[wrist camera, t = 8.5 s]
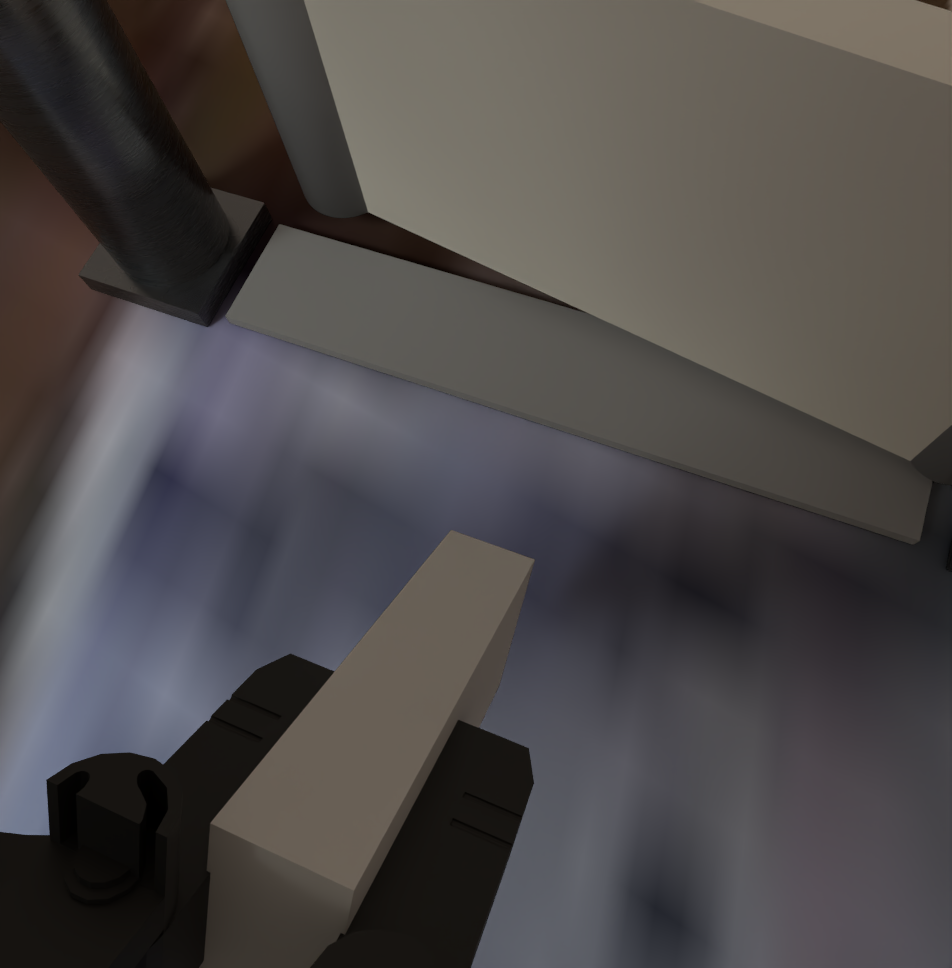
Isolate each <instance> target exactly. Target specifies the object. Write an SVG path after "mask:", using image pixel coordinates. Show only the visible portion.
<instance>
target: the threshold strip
mask: <svg viewBox="0 0 952 968" xmlns="http://www.w3.org/2000/svg"><path fill="white" fill-rule="evenodd" d="M225 317H226V318H227V320H228V321H229V323H232V324H235V325H238V326H241V327H244V328H247V329H250V330H253V331H256V332H259V333H262V334H265V335H268V336H272V337H275V338H278V339H281V340H284V341H287V342H290V343H293V344H296V345H299V346H302V347H305V348H309V349H312V350H315V351H318V352H321V353H324V354H327V355H330V356H333V357H336V358H339V359H342V360H345V361H349V362H352V363H355V364H358V365H361V366H364V367H367V368H370V369H373V370H376V371H379V372H382V373H385V374H389V375H392V376H395V377H398V378H401V379H404V380H407V381H410V382H413V383H416V384H419V385H422V386H426V387H429V388H432V389H435V390H438V391H441V392H444V393H447V394H450V395H453V396H456V397H459V398H462V399H466V400H469V401H472V402H475V403H478V404H481V405H484V406H487V407H490V408H493V409H496V410H499V411H503V412H506V413H509V414H512V415H515V416H518V417H521V418H524V419H527V420H530V421H533V422H536V423H539V424H543V425H546V426H549V427H552V428H555V429H558V430H561V431H564V432H567V433H570V434H573V435H576V436H579V437H583V438H586V439H589V440H592V441H595V442H598V443H601V444H604V445H607V446H610V447H613V448H616V449H620V450H623V451H626V452H629V453H632V454H635V455H638V456H641V457H644V458H647V459H650V460H653V461H656V462H660V463H663V464H666V465H669V466H672V467H675V468H678V469H681V470H684V471H687V472H690V473H693V474H696V475H700V476H703V477H706V478H709V479H712V480H715V481H718V482H721V483H724V484H727V485H730V486H733V487H737V488H740V489H743V490H746V491H749V492H752V493H755V494H758V495H761V496H764V497H767V498H770V499H773V500H777V501H780V502H783V503H786V504H789V505H792V506H795V507H798V508H801V509H804V510H807V511H810V512H813V513H817V514H820V515H823V516H826V517H829V518H832V519H835V520H838V521H841V522H844V523H847V524H850V525H854V526H857V527H860V528H863V529H866V530H869V531H872V532H875V533H878V534H881V535H884V536H887V537H890V538H894V539H897V540H900V541H903V542H906V543H909V544H912V545H914V544H915V543H917V542H919V541H920V538H921V533H922V528H923V524H924V519H925V514H926V510H927V505H928V501H929V496H930V491H931V487H932V482H933V481H932V480H930V479H928V478H926V477H925V476H923V475H922V474H921V473H920V472H918V471H917V469H916V468H915V467H914V466H913V465H912V463H911V462H910V461H909V460H907V459H905V458H902V457H900V456H898V455H896V454H894V453H892V452H889V451H887V450H885V449H883V448H881V447H878V446H876V445H874V444H872V443H870V442H868V441H865V440H863V439H861V438H859V437H857V436H855V435H852V434H850V433H848V432H846V431H844V430H841V429H839V428H837V427H835V426H833V425H831V424H828V423H826V422H824V421H822V420H820V419H817V418H815V417H813V416H811V415H809V414H807V413H804V412H802V411H800V410H798V409H796V408H794V407H791V406H789V405H787V404H785V403H783V402H780V401H778V400H776V399H774V398H772V397H770V396H767V395H765V394H763V393H761V392H759V391H757V390H754V389H752V388H750V387H748V386H746V385H743V384H741V383H739V382H737V381H735V380H733V379H730V378H728V377H726V376H724V375H722V374H720V373H717V372H715V371H713V370H711V369H709V368H706V367H704V366H702V365H700V364H698V363H696V362H693V361H691V360H689V359H687V358H685V357H682V356H680V355H678V354H676V353H674V352H672V351H669V350H667V349H665V348H663V347H661V346H659V345H656V344H654V343H652V342H650V341H648V340H645V339H643V338H641V337H639V336H637V335H635V334H632V333H630V332H628V331H626V330H624V329H622V328H619V327H617V326H615V325H613V324H611V323H608V322H606V321H604V320H602V319H600V318H598V317H595V316H593V315H591V314H588V313H584V312H581V311H578V310H574V309H571V308H567V307H564V306H560V305H557V304H553V303H550V302H546V301H543V300H540V299H536V298H533V297H529V296H526V295H522V294H519V293H515V292H512V291H509V290H505V289H502V288H498V287H495V286H491V285H488V284H484V283H481V282H477V281H474V280H471V279H467V278H464V277H460V276H457V275H453V274H450V273H446V272H443V271H439V270H436V269H433V268H429V267H426V266H422V265H419V264H415V263H412V262H408V261H405V260H402V259H398V258H395V257H391V256H388V255H384V254H381V253H377V252H374V251H370V250H367V249H364V248H360V247H357V246H353V245H350V244H346V243H343V242H339V241H336V240H332V239H329V238H326V237H322V236H319V235H315V234H312V233H308V232H305V231H301V230H298V229H294V228H291V227H288V226H284V225H281V224H279V225H278V227H277V229H276V231H275V232H274V234H273V236H272V237H271V239H270V241H269V243H268V244H267V246H266V248H265V249H264V251H263V253H262V254H261V256H260V258H259V260H258V261H257V263H256V265H255V266H254V268H253V270H252V271H251V273H250V275H249V277H248V278H247V280H246V282H245V283H244V285H243V287H242V288H241V290H240V292H239V294H238V295H237V297H236V299H235V300H234V302H233V304H232V306H231V307H230V309H229V311H228V312H227V314H226V316H225Z"/></svg>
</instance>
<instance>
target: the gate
mask: <svg viewBox="0 0 952 968" xmlns="http://www.w3.org/2000/svg"><path fill="white" fill-rule="evenodd" d="M226 2H227V5H228V7H229V10H230V12H231V15H232V17H233V20H234V22H235V25H236V27H237V30H238V32H239V35H240V37H241V40H242V42H243V45H244V47H245V50H246V52H247V55H248V57H249V59H250V62H251V64H252V67H253V69H254V72H255V74H256V77H257V79H258V82H259V84H260V87H261V89H262V92H263V94H264V97H265V99H266V102H267V104H268V107H269V109H270V112H271V114H272V116H273V119H274V121H275V124H276V126H277V129H278V131H279V134H280V136H281V139H282V141H283V144H284V146H285V149H286V151H287V154H288V156H289V159H290V161H291V164H292V166H293V169H294V171H295V174H296V176H297V178H298V181H299V183H300V186H301V188H302V191H303V193H304V196H305V198H306V200H307V202H308V203H309V204H310V205H311V206H312V208H314V209H315V210H316V211H318V212H320V213H321V214H324V215H326V216H330V217H335V218H350V217H356V216H359V215H362V214H365V213H367V212H369V213H371V214H373V215H375V216H378V217H380V218H382V219H384V220H386V221H389V222H391V223H393V224H395V225H397V226H399V227H402V228H404V229H406V230H408V231H410V232H412V233H415V234H417V235H419V236H421V237H423V238H426V239H428V240H430V241H432V242H434V243H436V244H439V245H441V246H443V247H445V248H447V249H449V250H452V251H454V252H456V253H458V254H460V255H463V256H465V257H467V258H469V259H471V260H473V261H476V262H478V263H480V264H482V265H484V266H487V267H489V268H491V269H493V270H495V271H497V272H500V273H502V274H504V275H506V276H508V277H510V278H513V279H515V280H517V281H519V282H521V283H524V284H526V285H528V286H530V287H532V288H534V289H537V290H539V291H541V292H543V293H545V294H547V295H550V296H552V297H554V298H556V299H558V300H561V301H563V302H565V303H567V304H569V305H571V306H574V307H576V308H578V309H580V310H582V311H585V312H587V313H589V314H591V315H593V316H595V317H598V318H600V319H602V320H604V321H606V322H608V323H611V324H613V325H615V326H617V327H619V328H622V329H624V330H626V331H628V332H630V333H632V334H635V335H637V336H639V337H641V338H643V339H645V340H648V341H650V342H652V343H654V344H656V345H659V346H661V347H663V348H665V349H667V350H669V351H672V352H674V353H676V354H678V355H680V356H682V357H685V358H687V359H689V360H691V361H693V362H696V363H698V364H700V365H702V366H704V367H706V368H709V369H711V370H713V371H715V372H717V373H720V374H722V375H724V376H726V377H728V378H730V379H733V380H735V381H737V382H739V383H741V384H743V385H746V386H748V387H750V388H752V389H754V390H757V391H759V392H761V393H763V394H765V395H767V396H770V397H772V398H774V399H776V400H778V401H780V402H783V403H785V404H787V405H789V406H791V407H794V408H796V409H798V410H800V411H802V412H804V413H807V414H809V415H811V416H813V417H815V418H817V419H820V420H822V421H824V422H826V423H828V424H831V425H833V426H835V427H837V428H839V429H841V430H844V431H846V432H848V433H850V434H852V435H855V436H857V437H859V438H861V439H863V440H865V441H868V442H870V443H872V444H874V445H876V446H878V447H881V448H883V449H885V450H887V451H889V452H892V453H894V454H896V455H898V456H900V457H902V458H905V459H907V460H909V461H910V462H911V463H912V465H913V466H914V467H915V468H916V469H917V471H918V472H920V473H921V474H922V475H923V476H925V477H926V478H928V479H930V480H932V481H934V482H937V483H940V484H945V485H952V11H949V10H946V9H942V8H939V7H936V6H933V5H929V4H926V3H923V2H919V1H916V0H226Z"/></svg>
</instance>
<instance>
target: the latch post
mask: <svg viewBox="0 0 952 968" xmlns="http://www.w3.org/2000/svg"><path fill="white" fill-rule="evenodd" d="M0 121H1V123H2V124H3V125H4V126H5V127H6V129H7V130H8V131H9V132H10V134H11V135H12V136H13V137H14V138H15V140H16V141H17V142H18V143H19V145H20V146H21V147H22V148H23V149H24V151H25V152H26V153H27V154H28V156H29V157H30V158H31V159H32V160H33V162H34V163H35V164H36V165H37V167H38V168H39V169H40V170H41V171H42V173H43V174H44V175H45V176H46V178H47V179H48V180H49V181H50V182H51V184H52V185H53V186H54V187H55V189H56V190H57V191H58V192H59V193H60V195H61V196H62V197H63V198H64V200H65V201H66V202H67V203H68V204H69V206H70V207H71V208H72V209H73V211H74V212H75V213H76V214H77V215H78V217H79V218H80V219H81V220H82V222H83V223H84V224H85V225H86V226H87V228H88V229H89V230H90V231H91V233H92V234H93V235H94V236H95V237H96V239H97V240H98V241H99V242H100V244H99V245H98V247H97V248H96V250H95V251H94V253H93V254H92V256H91V257H90V259H89V260H88V261H87V263H86V264H85V266H84V267H83V269H82V270H81V272H80V273H79V276H80V277H81V278H82V279H83V281H84V282H85V283H86V284H87V285H88V286H89V287H90V288H91V289H93V290H96V291H99V292H102V293H105V294H108V295H111V296H114V297H117V298H120V299H123V300H126V301H129V302H132V303H136V304H139V305H142V306H145V307H148V308H151V309H154V310H157V311H160V312H163V313H166V314H169V315H172V316H175V317H178V318H181V319H184V320H187V321H190V322H193V323H196V324H200V325H203V326H206V327H208V325H209V324H210V322H211V320H212V319H213V317H214V315H215V314H216V312H217V310H218V309H219V307H220V305H221V304H222V302H223V300H224V298H225V297H226V295H227V293H228V292H229V290H230V288H231V287H232V285H233V283H234V282H235V280H236V278H237V277H238V275H239V273H240V271H241V270H242V268H243V266H244V265H245V263H246V261H247V260H248V258H249V256H250V255H251V253H252V251H253V250H254V248H255V246H256V244H257V243H258V241H259V239H260V238H261V236H262V234H263V233H264V231H265V229H266V228H267V226H268V224H269V223H270V221H271V219H272V218H271V216H270V213H269V211H268V209H267V207H266V205H265V203H263V202H260V201H256V200H253V199H249V198H246V197H242V196H239V195H235V194H232V193H228V192H225V191H221V190H218V189H214V188H211V187H210V186H209V184H208V182H207V180H206V178H205V177H204V175H203V173H202V171H201V169H200V168H199V166H198V164H197V162H196V160H195V159H194V157H193V155H192V153H191V151H190V150H189V148H188V146H187V144H186V142H185V141H184V139H183V137H182V135H181V133H180V132H179V130H178V128H177V126H176V124H175V123H174V121H173V119H172V117H171V115H170V114H169V112H168V110H167V108H166V106H165V105H164V103H163V101H162V99H161V97H160V96H159V94H158V92H157V90H156V88H155V87H154V85H153V83H152V81H151V79H150V78H149V76H148V74H147V72H146V70H145V69H144V67H143V65H142V63H141V61H140V60H139V58H138V56H137V54H136V52H135V51H134V49H133V47H132V45H131V43H130V42H129V40H128V38H127V36H126V34H125V33H124V31H123V29H122V27H121V25H120V24H119V22H118V20H117V18H116V16H115V15H114V13H113V11H112V9H111V7H110V6H109V4H108V2H107V0H0Z"/></svg>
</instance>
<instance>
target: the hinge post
mask: <svg viewBox="0 0 952 968" xmlns="http://www.w3.org/2000/svg"><path fill="white" fill-rule="evenodd" d="M946 570H948V571H951V572H952V541H951V546H950V551H949V556H948V561H947V566H946Z"/></svg>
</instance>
